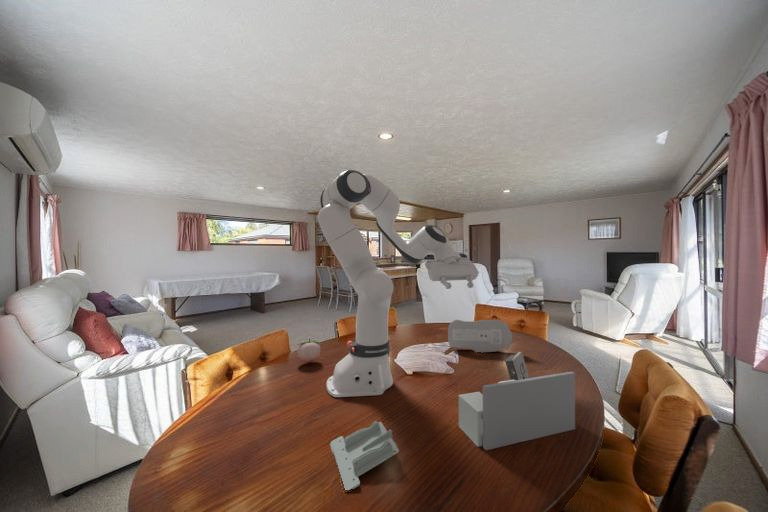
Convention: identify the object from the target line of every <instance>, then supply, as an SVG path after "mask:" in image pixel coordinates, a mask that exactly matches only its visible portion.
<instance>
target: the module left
mask: <svg viewBox="0 0 768 512" xmlns="http://www.w3.org/2000/svg"><path fill="white" fill-rule="evenodd" d="M482 418H483V392H482V393H481V392H480V391H475V392H468V393H462V394H458V427H459V429H460V430H462V432H463V433H464V434H465V435H466V436H467V437H468V438H469V439H470V440H471V441H472V442H473V444H474V445H475V446H476V447H478V448H479V447H483V435H482V434H481V419H482Z"/></svg>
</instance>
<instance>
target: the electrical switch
mask: <svg viewBox="0 0 768 512" xmlns="http://www.w3.org/2000/svg"><path fill="white" fill-rule="evenodd" d="M504 362H505V366H506V369H507V373H508V376H509V378H510V379H509V380H521V379H527V378H530V375H529V371H528V368H527V365H526V362H525V358H524V354H523V352H522V351H518V352H517V353H515V354H510V355H509V356H508V357H507V358H506V360H504Z"/></svg>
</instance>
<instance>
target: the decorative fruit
mask: <svg viewBox="0 0 768 512" xmlns="http://www.w3.org/2000/svg"><path fill="white" fill-rule="evenodd" d="M321 344H322V343H321V342H320V341H318V340H315V339H313V340H311V338H309V339H308V341H307V340H303V341H300V342H299V343H298V344H297V346H298V347H297V356H298V358H299V360H300V361H301V362H304V363H307V364H311V363H314V361H316V360H317V359H318V358H319V357H320V355H321V350H322V349H321V348H322V347H321V346H320V345H321Z"/></svg>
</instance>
